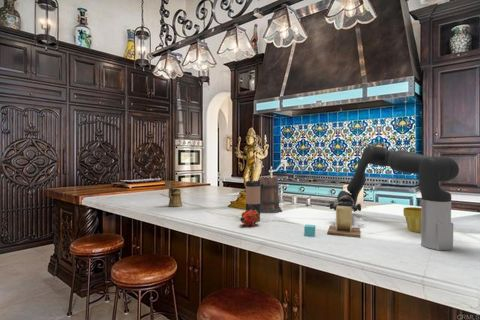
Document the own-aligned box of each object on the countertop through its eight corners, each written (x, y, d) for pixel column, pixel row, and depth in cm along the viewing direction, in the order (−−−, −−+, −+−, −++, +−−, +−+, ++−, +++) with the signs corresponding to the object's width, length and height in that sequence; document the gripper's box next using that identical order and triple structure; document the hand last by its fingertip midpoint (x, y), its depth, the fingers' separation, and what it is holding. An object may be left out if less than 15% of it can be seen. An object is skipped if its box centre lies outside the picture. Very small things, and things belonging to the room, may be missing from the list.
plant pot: (398, 229, 137) (398, 207, 137) (413, 227, 141) (413, 206, 141) (419, 234, 128) (419, 211, 127) (435, 232, 132) (435, 210, 131)
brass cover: (337, 227, 135) (337, 205, 135) (351, 229, 133) (351, 206, 133) (336, 231, 130) (336, 207, 129) (351, 232, 127) (351, 208, 127)
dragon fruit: (260, 226, 148) (243, 234, 139) (249, 214, 152) (232, 222, 144) (267, 214, 143) (249, 222, 135) (255, 202, 148) (238, 209, 139)
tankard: (263, 207, 194) (263, 176, 193) (287, 209, 184) (287, 177, 184) (243, 213, 174) (243, 178, 174) (269, 216, 165) (269, 180, 165)
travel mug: (263, 219, 157) (263, 181, 157) (253, 221, 151) (253, 182, 151) (252, 217, 162) (252, 180, 162) (242, 219, 157) (242, 181, 156)
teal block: (305, 233, 129) (305, 224, 129) (315, 234, 128) (315, 225, 128) (304, 236, 126) (304, 226, 126) (314, 236, 124) (314, 227, 124)
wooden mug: (160, 207, 192) (160, 179, 191) (174, 204, 204) (174, 178, 203) (171, 208, 188) (171, 180, 187) (185, 205, 199) (185, 178, 199)
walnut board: (329, 227, 140) (329, 225, 140) (359, 230, 135) (359, 227, 135) (327, 234, 128) (327, 232, 128) (360, 237, 123) (360, 235, 123)
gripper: (331, 195, 158) (329, 200, 142) (360, 197, 152) (361, 201, 137) (331, 209, 158) (328, 215, 143) (360, 211, 153) (361, 218, 137)
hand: (344, 209), depth 140 cm, fingers open, 8 cm apart
